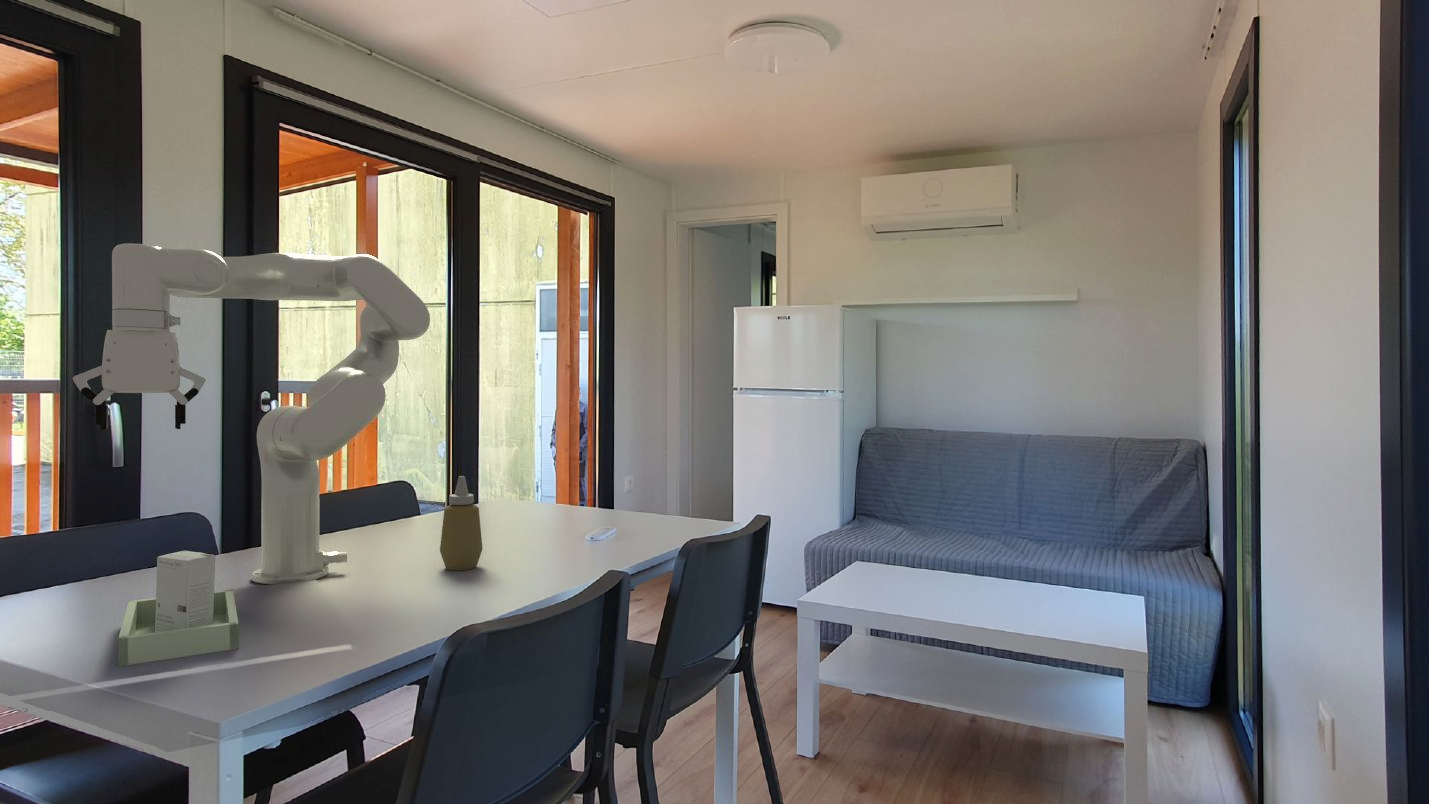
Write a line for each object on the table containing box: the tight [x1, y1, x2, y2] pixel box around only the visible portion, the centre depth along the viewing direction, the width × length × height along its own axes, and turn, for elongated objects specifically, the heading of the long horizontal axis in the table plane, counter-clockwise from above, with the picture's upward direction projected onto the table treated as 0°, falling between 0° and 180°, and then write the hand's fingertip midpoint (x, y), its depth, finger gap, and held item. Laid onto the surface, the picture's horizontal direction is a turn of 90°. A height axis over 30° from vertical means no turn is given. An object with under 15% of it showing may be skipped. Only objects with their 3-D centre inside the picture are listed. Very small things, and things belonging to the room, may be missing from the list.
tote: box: [117, 589, 240, 667], centre depth 112 cm, size 13×20×4 cm, turn 33°
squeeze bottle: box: [439, 475, 483, 571], centre depth 157 cm, size 8×8×18 cm
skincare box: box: [155, 550, 216, 632], centre depth 109 cm, size 6×4×12 cm
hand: (142, 429), depth 129 cm, fingers open, 9 cm apart
